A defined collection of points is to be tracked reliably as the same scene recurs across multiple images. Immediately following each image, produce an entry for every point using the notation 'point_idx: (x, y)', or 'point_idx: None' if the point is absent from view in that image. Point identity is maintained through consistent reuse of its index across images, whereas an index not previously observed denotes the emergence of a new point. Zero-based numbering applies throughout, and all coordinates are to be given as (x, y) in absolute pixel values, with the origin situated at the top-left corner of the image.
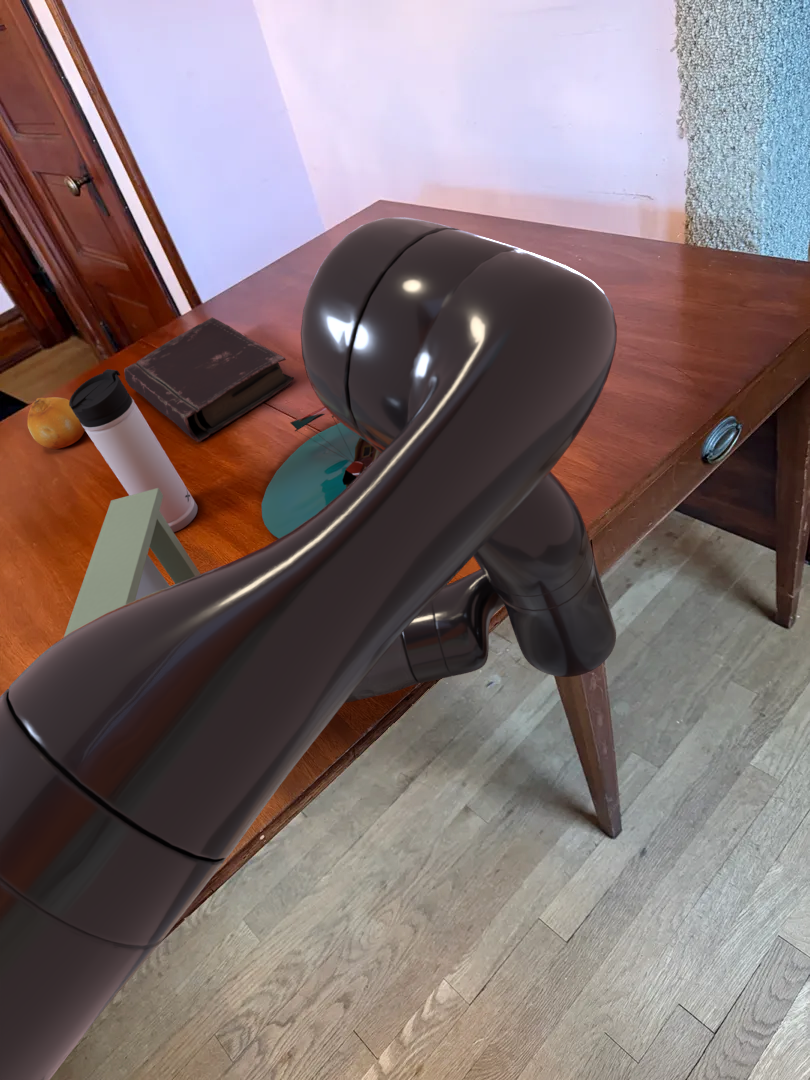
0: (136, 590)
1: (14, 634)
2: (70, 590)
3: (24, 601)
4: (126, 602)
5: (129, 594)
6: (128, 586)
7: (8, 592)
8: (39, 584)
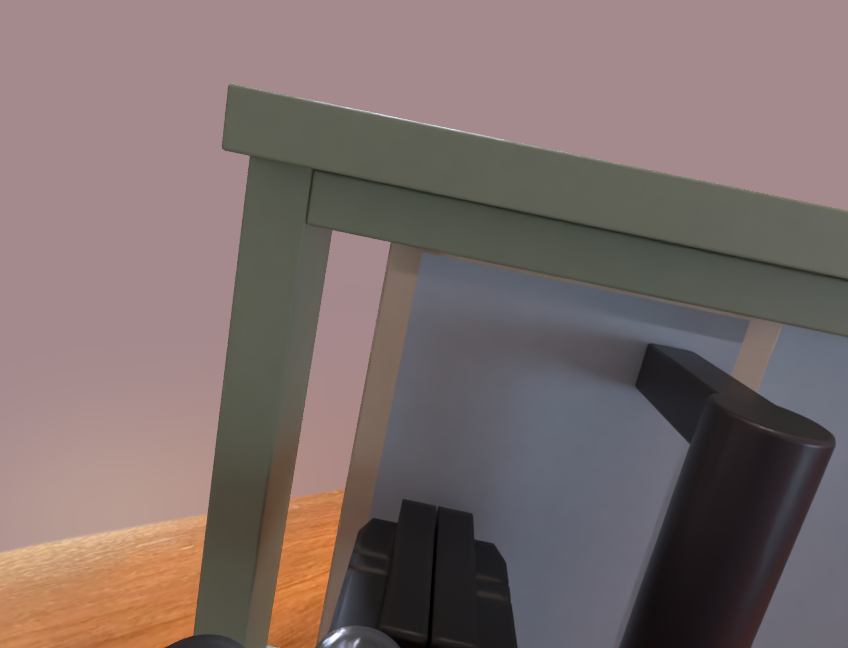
0: (846, 266)
1: None
2: None
3: None
4: (735, 189)
5: (793, 205)
6: (841, 209)
7: None
8: None
